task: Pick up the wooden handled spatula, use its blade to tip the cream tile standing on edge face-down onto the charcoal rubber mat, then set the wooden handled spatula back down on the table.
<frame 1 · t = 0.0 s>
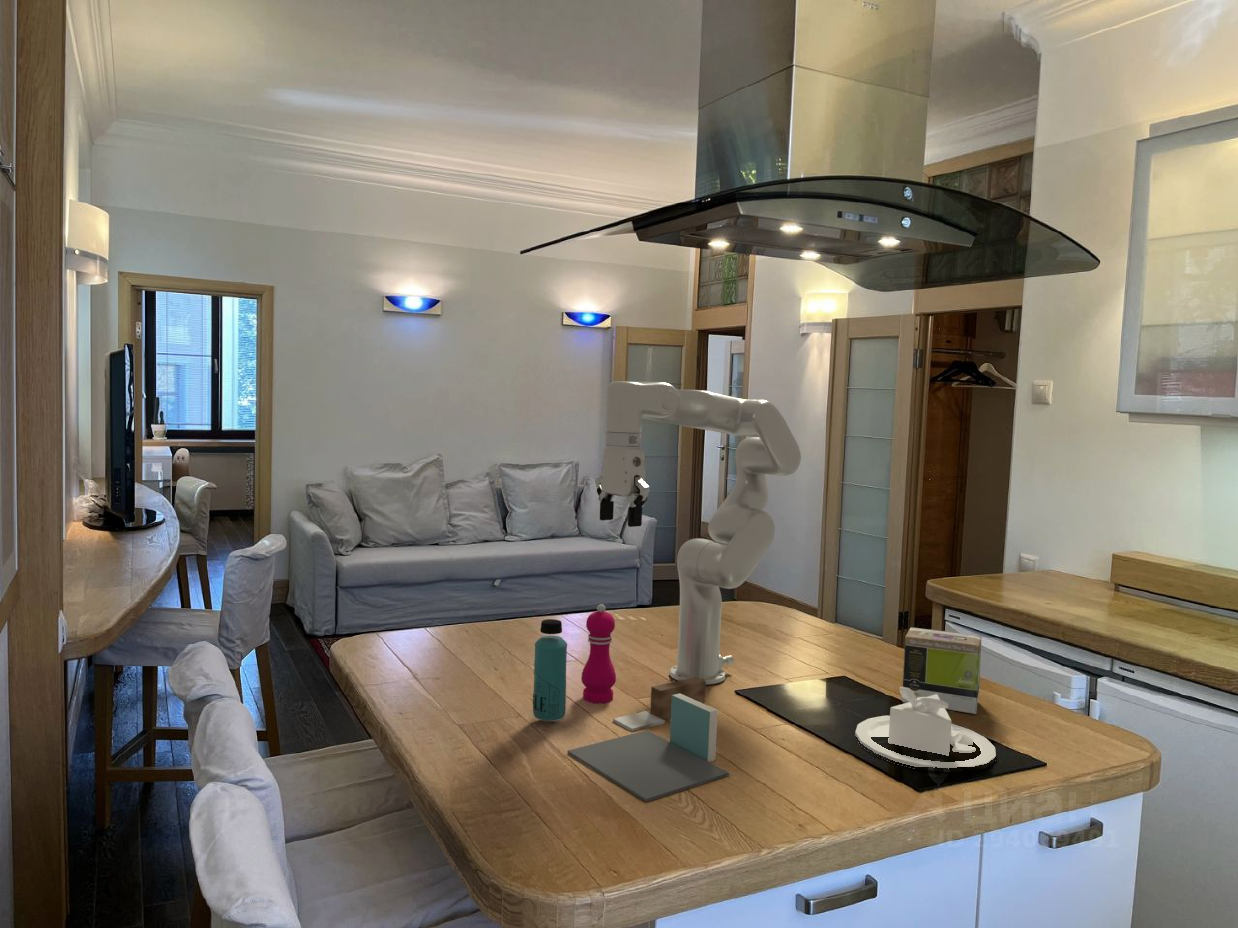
hand: (620, 523, 181), 37 cm above the counter, tool pointing down, fingers open, 9 cm apart
tea box: (939, 703, 187), on the counter
dish: (923, 747, 163), on the counter
beverage bottle: (548, 723, 167), on the counter
tile: (691, 751, 156), on the counter
pepper mill: (597, 699, 181), on the counter
tile mat: (646, 763, 149), on the counter
wooden handled spatula: (658, 717, 172), on the counter
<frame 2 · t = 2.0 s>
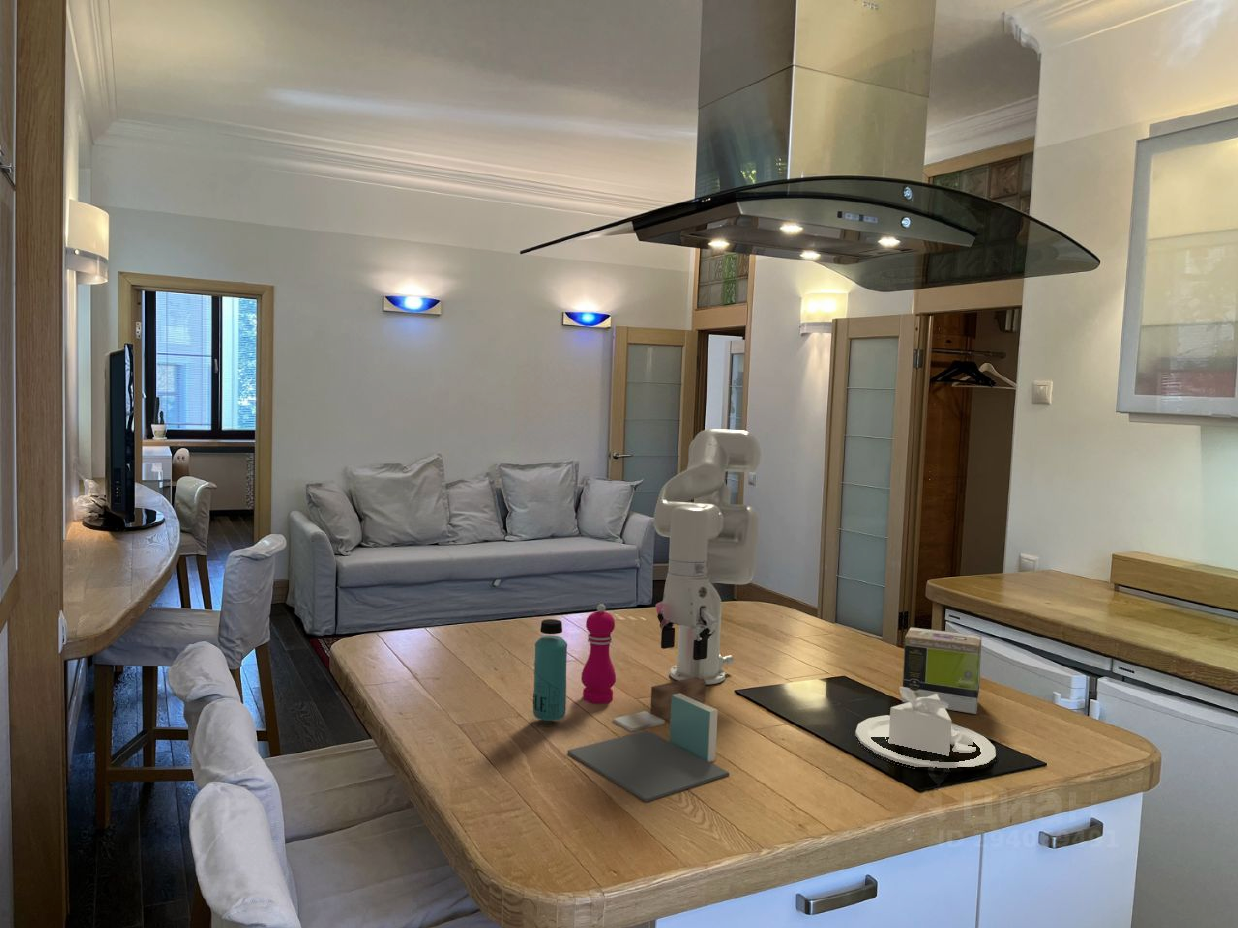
hand: (683, 653, 174), 12 cm above the counter, tool pointing down, fingers open, 9 cm apart
nothing on the counter moved.
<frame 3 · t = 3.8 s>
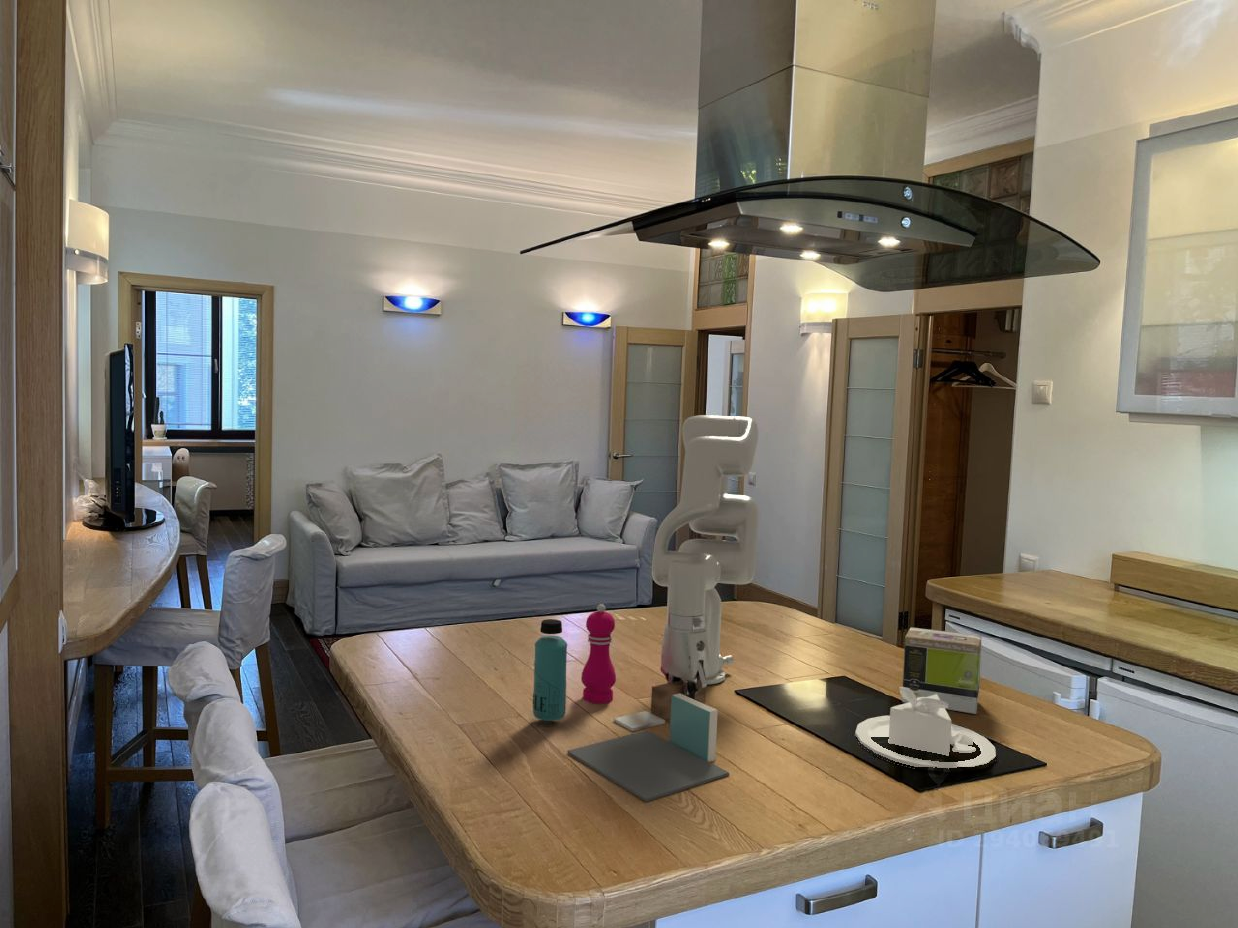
hand: (681, 709, 175), 0 cm above the counter, tool pointing down, fingers closed on wooden handled spatula, 2 cm apart
wooden handled spatula: (659, 717, 172), on the counter, touching gripper
everything else where it was.
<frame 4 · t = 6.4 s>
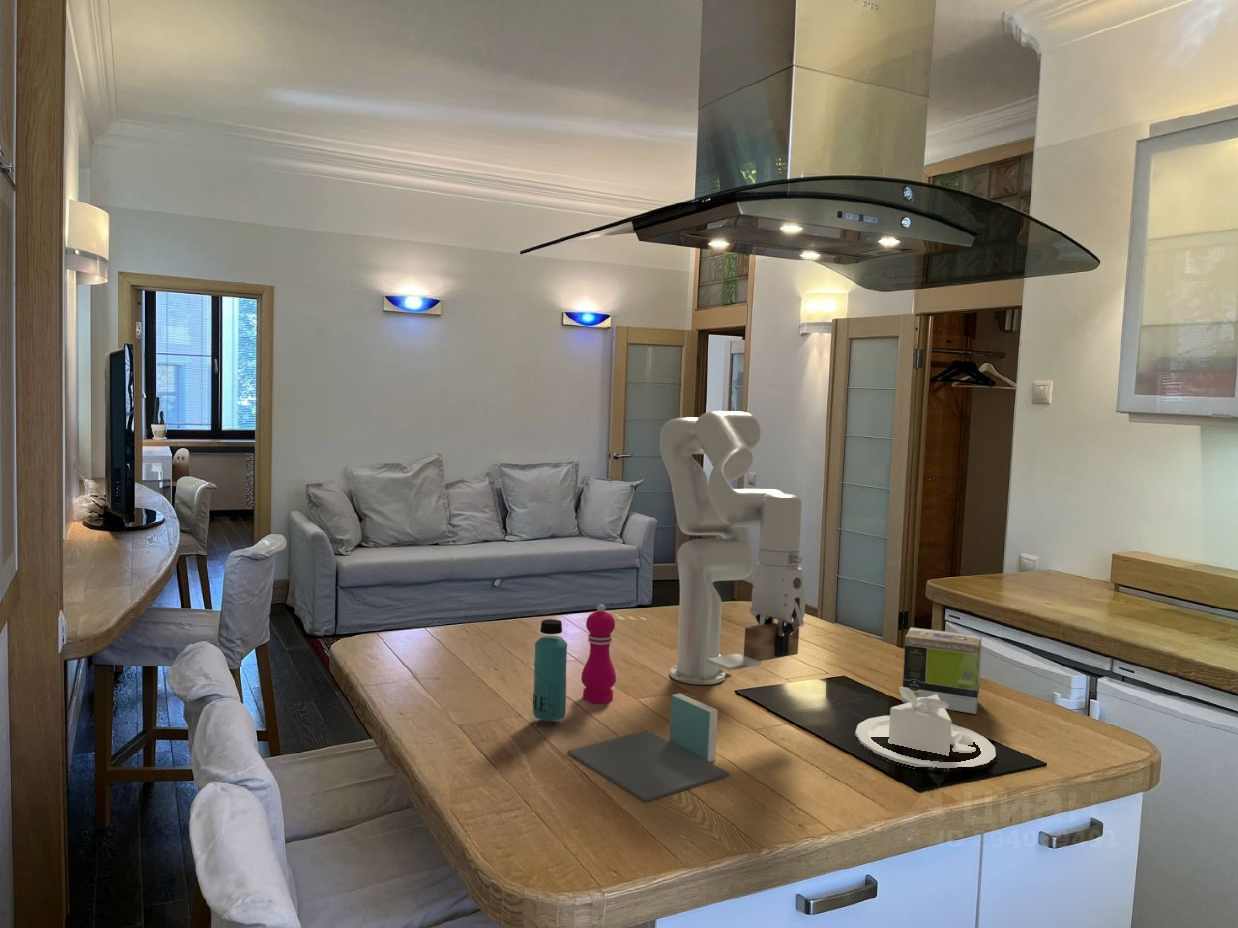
hand: (774, 652, 167), 15 cm above the counter, tool pointing down, fingers closed on wooden handled spatula, 2 cm apart
wooden handled spatula: (752, 659, 163), point 14 cm above the counter, touching gripper
everything else where it was.
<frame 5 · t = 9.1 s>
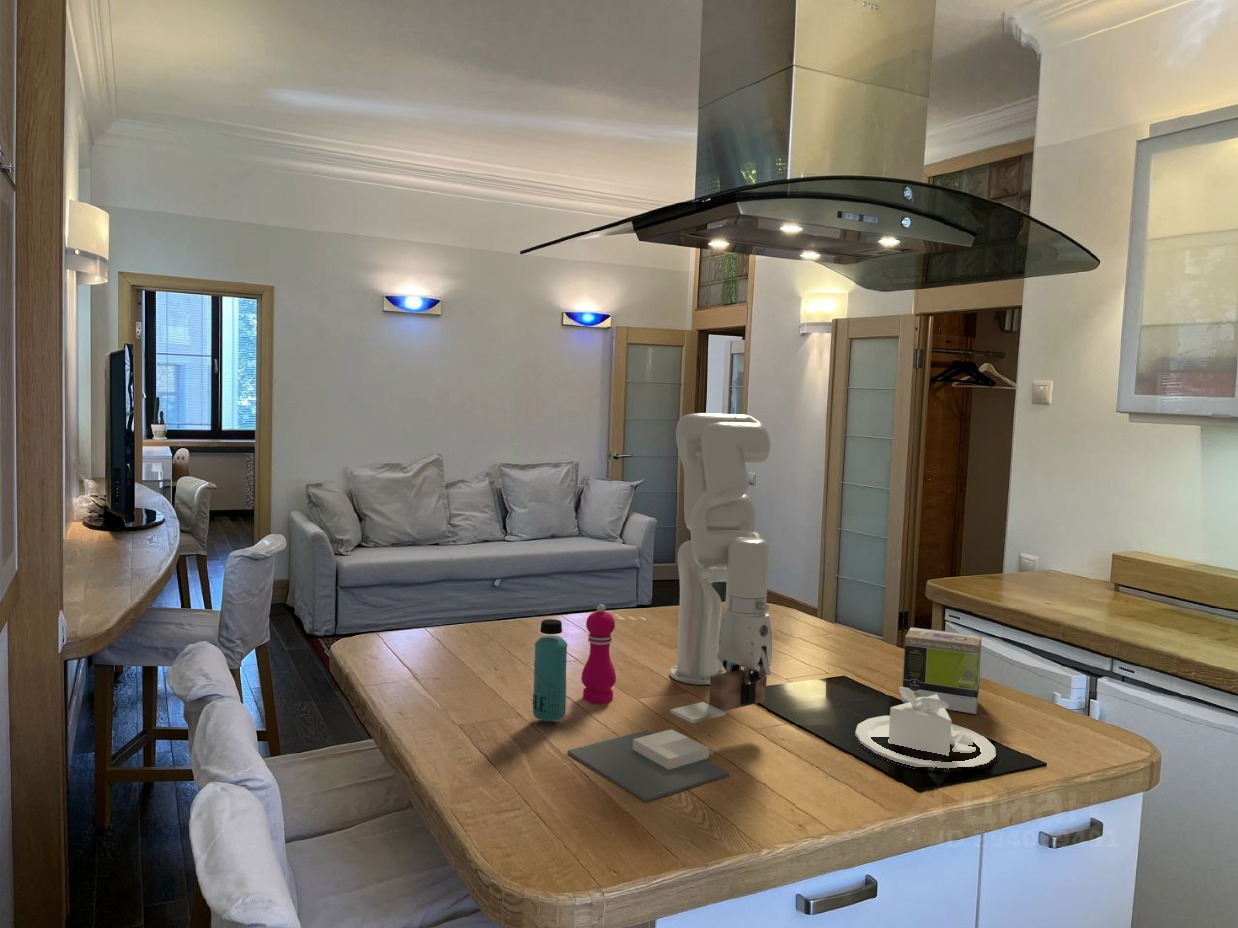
hand: (741, 699, 162), 7 cm above the counter, tool pointing down, fingers closed on wooden handled spatula, 2 cm apart
tile: (689, 743, 155), point 1 cm above the counter, tilted 90°, touching tile mat
wooden handled spatula: (718, 708, 159), point 7 cm above the counter, touching gripper
everything else where it was.
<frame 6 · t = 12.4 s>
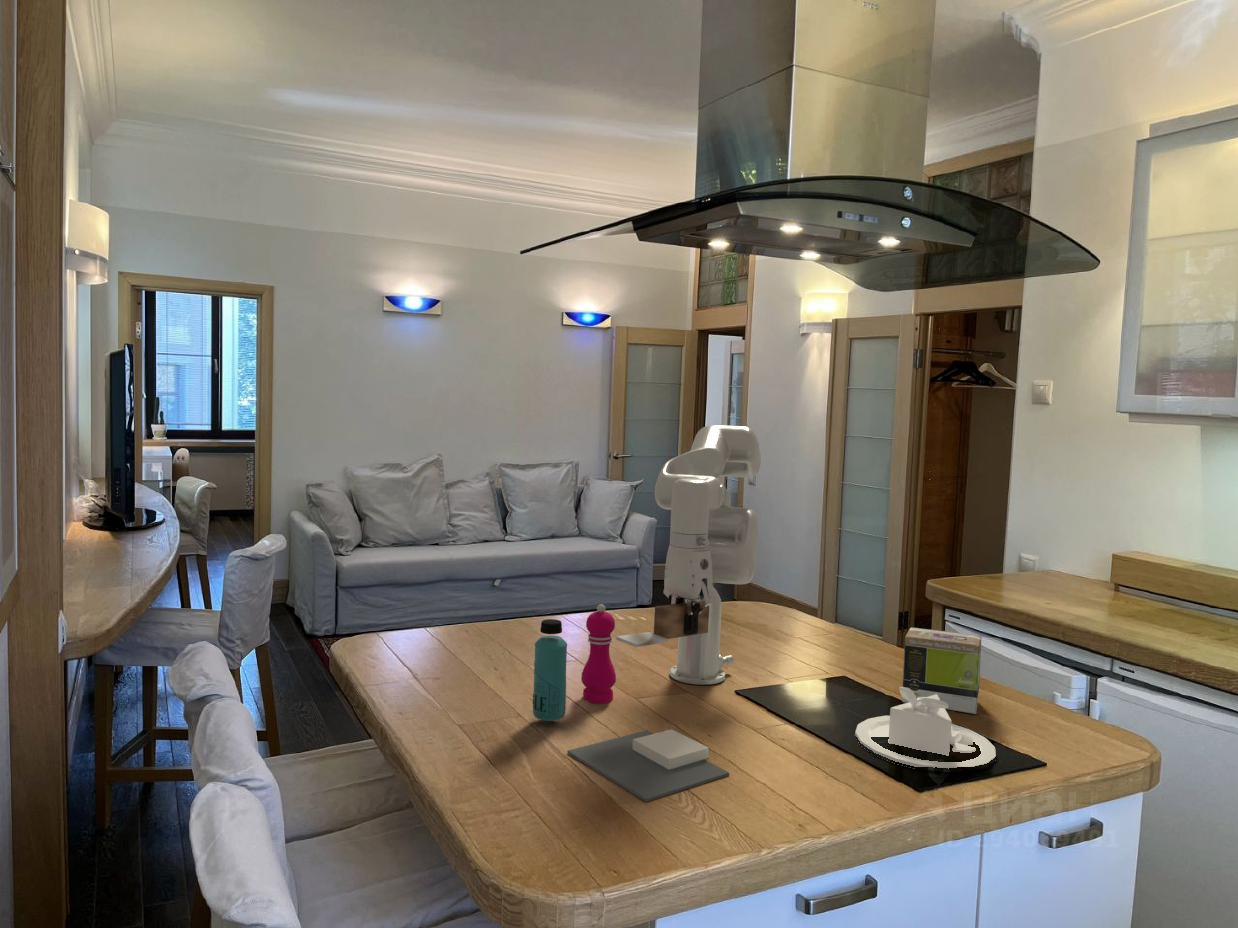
hand: (684, 630, 174), 17 cm above the counter, tool pointing down, fingers closed on wooden handled spatula, 2 cm apart
wooden handled spatula: (661, 637, 170), point 16 cm above the counter, touching gripper
everything else where it was.
when the fingers open (2 cm above the counter, at t = 15.2 s): wooden handled spatula drops 1 cm, on the counter.
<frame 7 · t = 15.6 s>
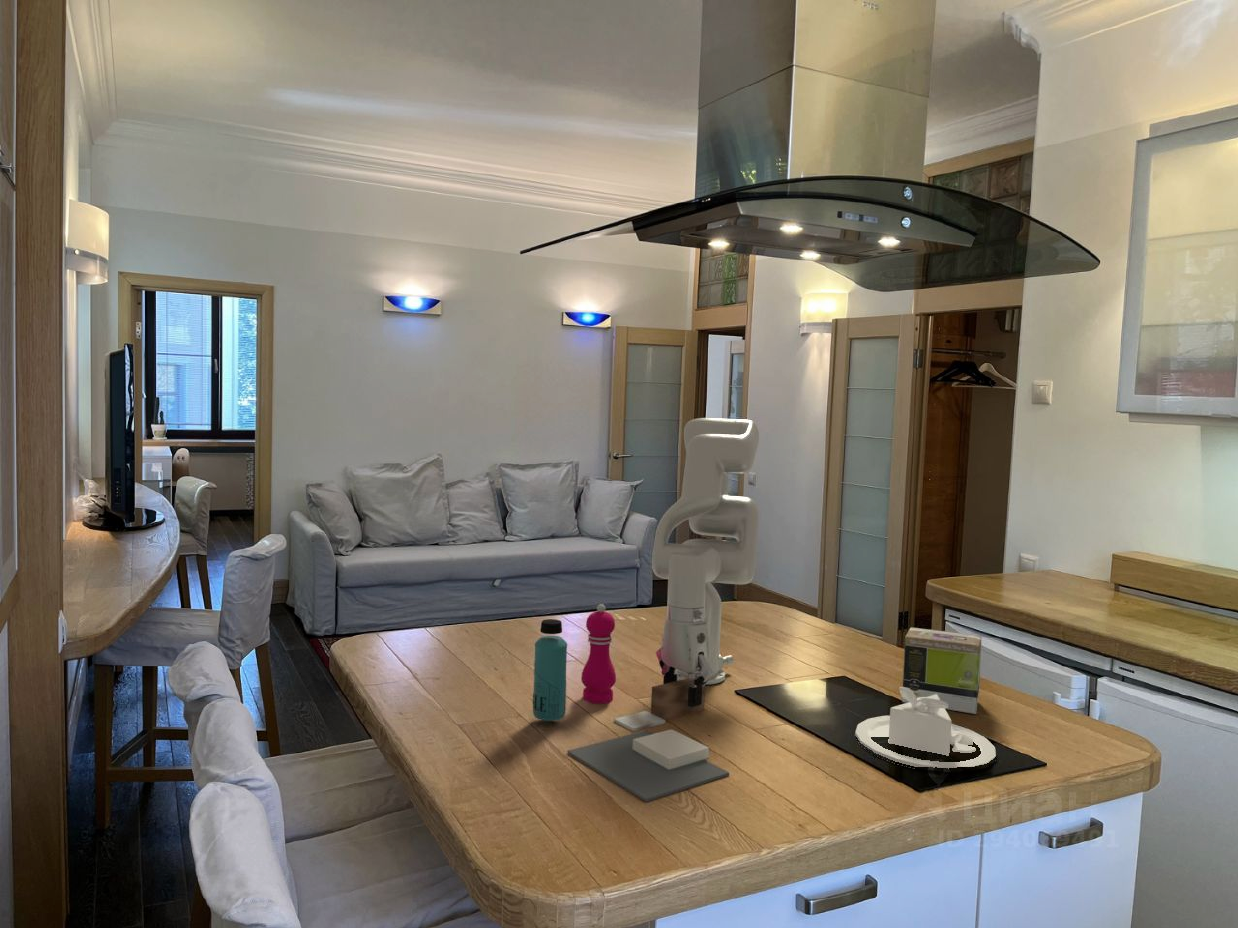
hand: (681, 699, 175), 3 cm above the counter, tool pointing down, fingers open, 7 cm apart
wooden handled spatula: (659, 717, 172), on the counter
everything else where it was.
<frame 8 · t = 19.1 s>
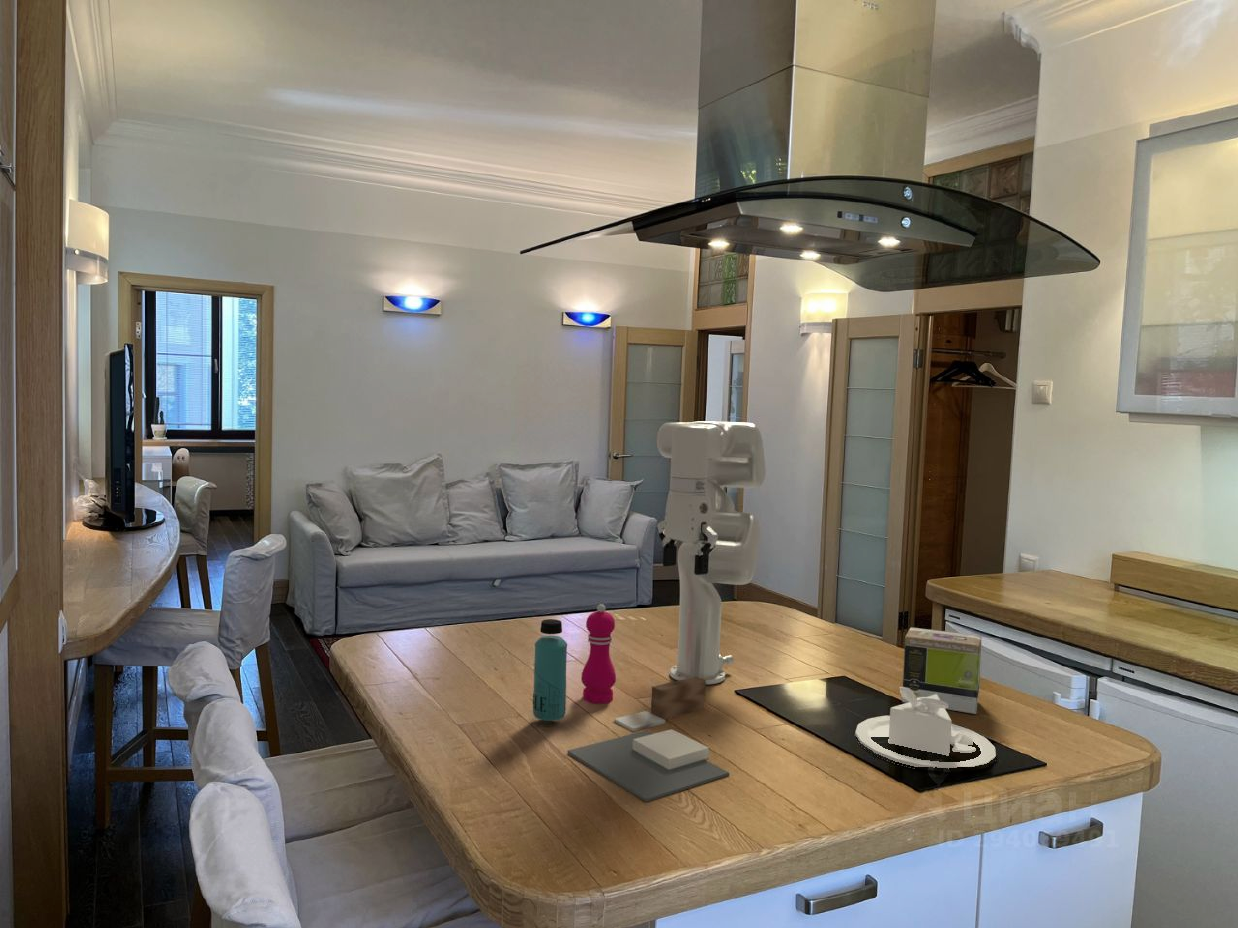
hand: (684, 569, 177), 28 cm above the counter, tool pointing down, fingers open, 9 cm apart
nothing on the counter moved.
at the end: tile tilted 90°; tile touching tile mat; the gripper is holding nothing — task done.
